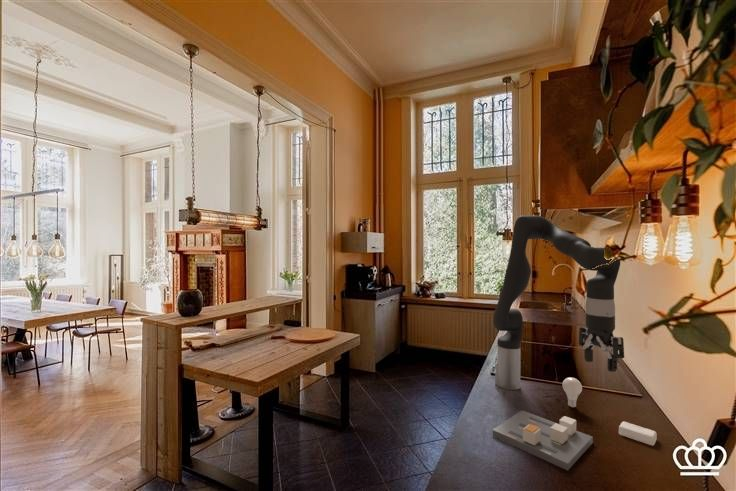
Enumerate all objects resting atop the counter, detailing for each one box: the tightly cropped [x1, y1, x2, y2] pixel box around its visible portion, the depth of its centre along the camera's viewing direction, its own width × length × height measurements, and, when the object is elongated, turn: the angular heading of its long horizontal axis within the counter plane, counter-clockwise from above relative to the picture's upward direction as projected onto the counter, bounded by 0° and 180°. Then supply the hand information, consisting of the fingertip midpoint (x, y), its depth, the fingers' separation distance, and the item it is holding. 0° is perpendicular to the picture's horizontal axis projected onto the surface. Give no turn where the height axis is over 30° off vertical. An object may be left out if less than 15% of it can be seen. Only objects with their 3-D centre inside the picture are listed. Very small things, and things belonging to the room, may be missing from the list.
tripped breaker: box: [523, 424, 541, 445], centre depth 104 cm, size 4×4×4 cm
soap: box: [618, 421, 658, 446], centre depth 110 cm, size 9×6×3 cm, turn 42°
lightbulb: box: [562, 376, 583, 408], centre depth 130 cm, size 6×6×11 cm
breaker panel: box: [492, 410, 594, 471], centre depth 108 cm, size 22×20×6 cm
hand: (600, 366), depth 105 cm, fingers open, 8 cm apart
